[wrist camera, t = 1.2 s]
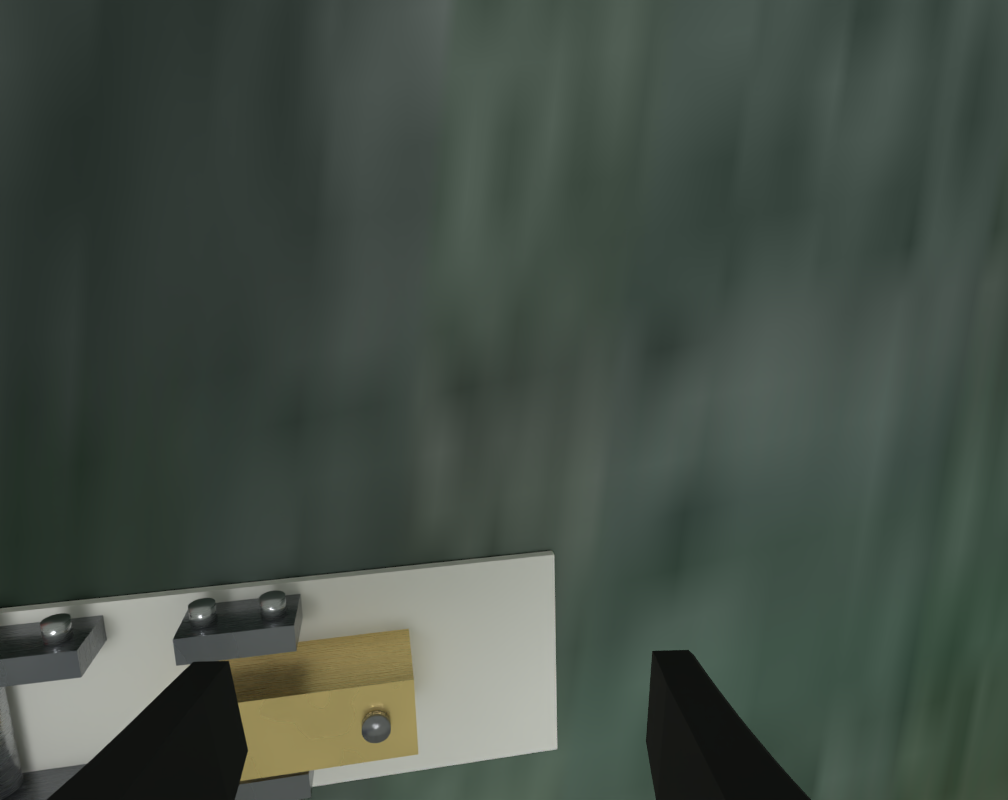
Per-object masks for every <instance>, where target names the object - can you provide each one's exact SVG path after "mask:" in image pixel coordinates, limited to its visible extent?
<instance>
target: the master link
mask: <svg viewBox="0 0 1008 800" xmlns="http://www.w3.org/2000/svg"><path fill="white" fill-rule="evenodd" d="M221 661H229V664H230V668H231V673H232V678H233V682H234V687H235V692H236V696H237V701H238V706H239V710H240V715H241V720H242V724H243V729H244V733H245V738H246V743H247V747H248V753H247V757H246V760H245V764H244V768H243V772H242V776H241V779H240V781H244V780H251V779H258V778H264V777H271V776H278V775H284V774H291V773H298V772H304V771H311V770H318V769H324V768H331V767H338V766H344V765H351V764H358V763H364V762H371V761H378V760H384V759H391V758H398V757H404V756H411V755H418V738H417V722H416V706H415V690H414V676H413V666H412V656H411V646H410V636H409V629H402V630H394V631H385V632H377V633H368V634H360V635H352V636H343V637H335V638H327V639H318V640H310V641H302V642H298V646H297V651H294V652H286V653H278V654H270V655H262V656H253V657H245V658H237V659H229V660H221Z"/></svg>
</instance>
